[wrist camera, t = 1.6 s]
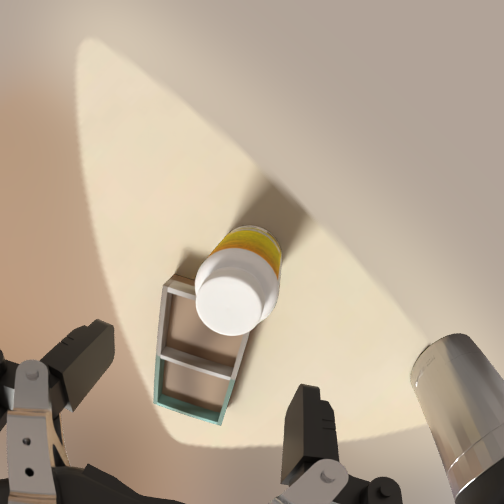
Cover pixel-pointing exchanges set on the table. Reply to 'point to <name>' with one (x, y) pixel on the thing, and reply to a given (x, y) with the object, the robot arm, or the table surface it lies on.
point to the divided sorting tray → (193, 357)
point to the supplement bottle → (239, 281)
